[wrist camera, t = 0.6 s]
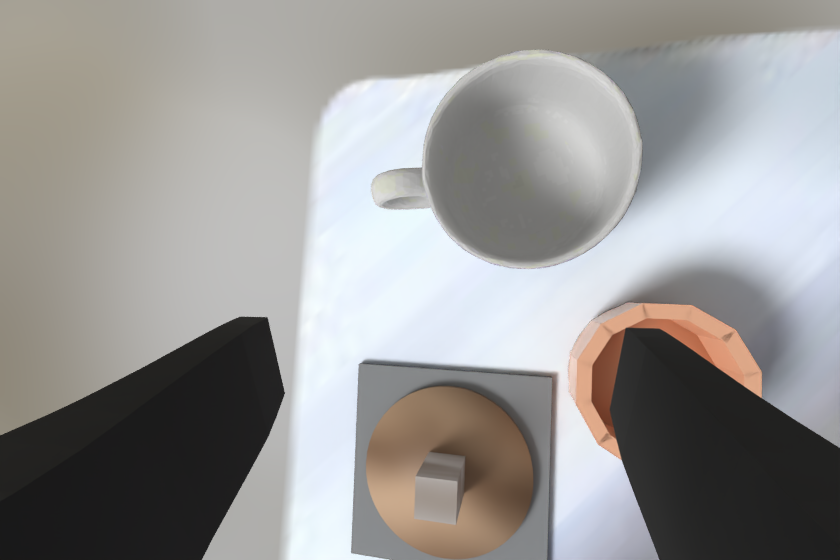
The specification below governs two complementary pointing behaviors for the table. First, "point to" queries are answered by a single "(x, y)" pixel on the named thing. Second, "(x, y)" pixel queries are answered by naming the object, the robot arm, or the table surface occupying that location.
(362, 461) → the mat
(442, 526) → the lid
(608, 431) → the bowl
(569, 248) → the teacup
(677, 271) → the table surface
